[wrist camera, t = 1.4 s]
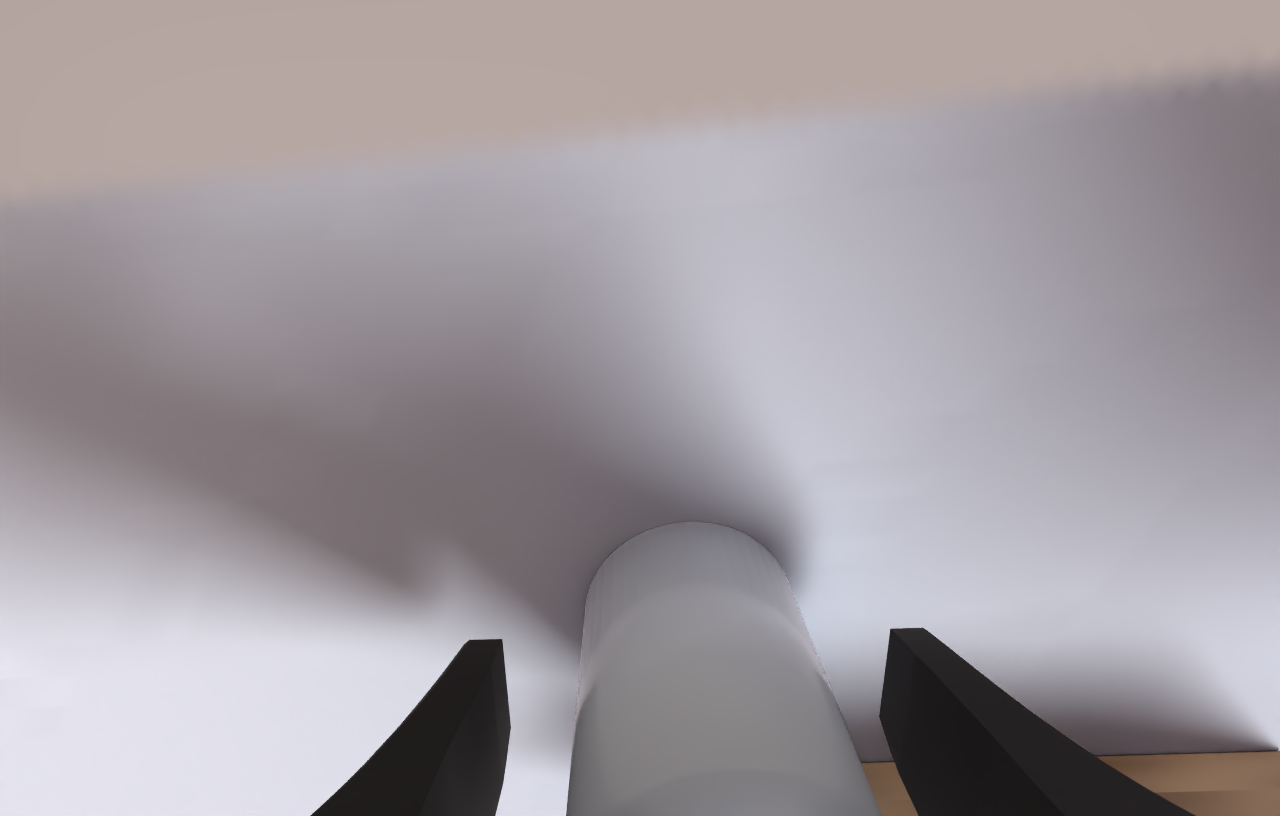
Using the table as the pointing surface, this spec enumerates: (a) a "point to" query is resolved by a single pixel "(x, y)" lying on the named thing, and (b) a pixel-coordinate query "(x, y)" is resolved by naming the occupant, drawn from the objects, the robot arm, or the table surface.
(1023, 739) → the robot arm
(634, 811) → the cylinder
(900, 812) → the rack
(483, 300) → the table surface
